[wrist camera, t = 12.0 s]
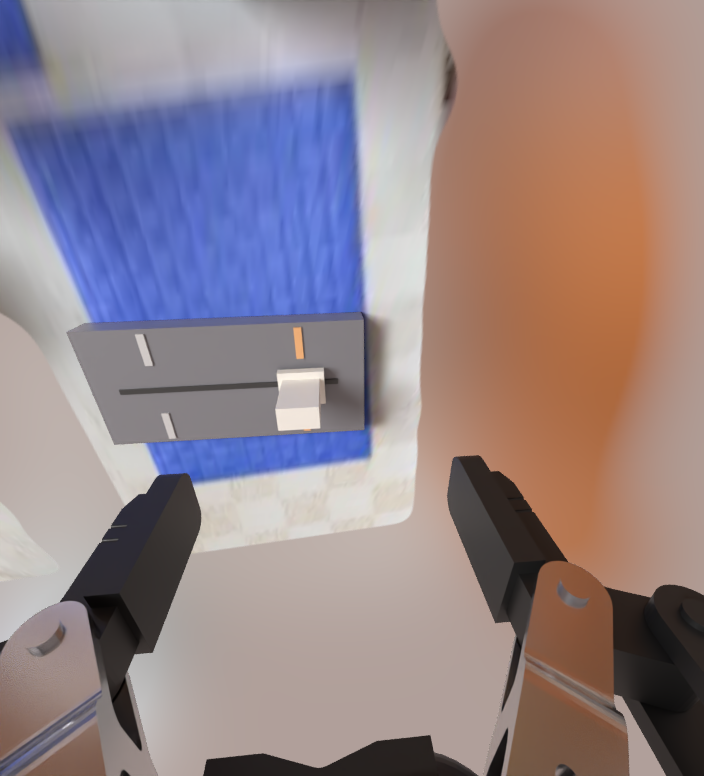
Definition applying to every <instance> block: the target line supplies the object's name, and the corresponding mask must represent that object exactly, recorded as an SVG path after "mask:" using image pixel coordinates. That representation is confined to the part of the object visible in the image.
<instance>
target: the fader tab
mask: <svg viewBox="0 0 704 776" xmlns="http://www.w3.org/2000/svg"><path fill="white" fill-rule="evenodd" d="M277 381H278V388H279V396H278V400H277V404H276V408H275V411H276V418H277V425H278V431H284V430H301V429H318V428H320V420H321V404H326V396H325V381H324V368H305V369H285V370H277Z"/></svg>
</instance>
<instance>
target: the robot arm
mask: <svg viewBox="0 0 704 776" xmlns="http://www.w3.org/2000/svg"><path fill="white" fill-rule="evenodd" d="M447 498H448V506H449V511H450V514H451V516H452V519H453V521H454V524H455V526H456V528H457V531H458V533H459V536H460V538H461V540H462V543H463V545H464V548H465V550H466V553H467V555H468V558H469V560H470V562H471V565H472V567H473V570H474V572H475V575H476V577H477V579H478V582H479V584H480V587H481V589H482V592H483V594H484V596H485V599H486V601H487V604H488V606H489V609H490V611H491V613H492V616H493V618H494V621H495V623H501V622H511V625H512V627H513V629H514V631H515V633H516V636H515V639H514V643H513V647H512V652H511V657H510V661H509V666H508V671H507V675H506V681H505V685H504V689H503V694H502V699H501V704H500V708H499V713H498V717H497V722H496V725H495V729H494V732H493V736H492V739H491V743H490V747H489V751H488V756H487V760H486V764H485V768H484V773H483V776H629V753H628V752H629V751H628V733H627V726H626V722H625V719H624V716H623V714H622V713H620V712H619V711H617V710H616V708H615V704H614V694H615V695H619V696H622V697H623V699H624V701H625V703H626V704H627V706H628V708H629V710H630V711H631V713H632V715H633V717H634V718H635V720H636V722H637V724H638V726H639V728H640V729H641V731H642V733H643V735H644V737H645V738H646V740H647V742H648V744H649V745H650V747H651V749H652V751H653V752H654V754H655V756H656V758H657V760H658V761H659V763H660V765H661V767H662V769H663V770H664V772H665V774H666V776H704V595H702V594H700V593H698V592H696V591H694V590H691V589H688V588H685V587H682V586H677V585H663V586H660V587H659V588H657V589H656V591H655V592H654V594H653V595H652V597H651V598H650V597H646V596H641V595H637V594H632V593H628V592H623V591H619V590H614V589H611V588H607V587H604V586H603V585H602V584H601V582H599V580H598V579H597V578H595V577H594V576H593V575H592V574H591V573H589V572H588V571H586V570H585V569H583V568H581V567H579V566H577V565H575V564H572V563H569V562H568V561H567V559H566V558H565V557H564V555H563V554H562V552H561V551H560V549H559V548H558V547H557V545H556V544H555V542H554V541H553V539H552V538H551V536H550V535H549V533H548V532H547V530H546V529H545V528H544V526H543V525H542V523H541V522H540V521H539V519H538V517H537V516H536V514H535V513H534V512H532V509H531V507H530V506H529V504H528V503H527V501H526V500H524V498H523V496H522V494H521V493H520V491H519V490H518V488H517V487H516V485H515V484H514V483H513V482H512V481H511V480H510V479H508V478H507V477H506V476H504V475H503V474H502V473H501V472H499V471H494V472H491V471H490V470H489V468H488V467H487V465H486V463H485V462H484V460H483V459H482V458H481V457H480V456H479V455H476V456H460V457H454V458H453V461H452V466H451V474H450V480H449V487H448V495H447ZM200 526H201V510H200V507H199V503H198V500H197V497H196V494H195V491H194V488H193V485H192V481H191V478H190V476H189V475H188V474H187V473H183V474H167V475H159V476H158V477H157V478H156V479H155V480H154V482H153V484H152V485H151V487H150V488H149V490H148V492H147V493H146V494H139V495H138V496H137V497H135V498H134V499H133V500H132V501H131V502H130V503H128V504H127V505H126V506H125V507H124V508H123V509H122V510H121V512H120V513H119V515H118V516H117V518H116V519H115V520H114V522H113V523H112V525H111V529H108V531H107V532H106V534H105V535H104V537H103V539H102V542H101V543H99V545H98V546H97V548H96V549H95V551H94V552H93V553H92V555H91V557H90V558H89V560H88V561H87V562H86V564H85V565H84V567H83V568H82V570H81V571H80V573H79V574H78V576H77V577H76V579H75V581H74V582H73V583H72V585H71V586H70V588H69V590H68V591H67V592H66V594H65V595H64V597H63V598H62V600H61V601H60V602H59V603H57V604H54V605H52V606H49V607H47V608H45V609H43V610H41V611H40V612H38V613H37V614H35V615H34V616H32V617H31V618H29V619H28V620H27V621H26V622H25V623H23V624H22V625H21V626H20V627H19V628H18V629H17V630H16V631H15V632H14V634H13V635H12V636H11V637H10V638H9V640H6V641H4V642H1V643H0V776H158V774H157V772H156V769H155V767H154V765H153V763H152V760H151V757H150V754H149V751H148V747H147V743H146V739H145V735H144V731H143V727H142V723H141V719H140V715H139V711H138V708H137V703H136V700H135V695H134V692H133V688H132V684H131V680H130V676H129V673H128V672H127V671H128V668H129V666H130V663H131V661H132V659H133V656H134V654H141V653H142V654H143V653H152V652H153V650H154V648H155V645H156V643H157V640H158V637H159V635H160V632H161V630H162V627H163V624H164V621H165V619H166V617H167V614H168V611H169V609H170V606H171V603H172V600H173V598H174V596H175V593H176V590H177V588H178V585H179V583H180V580H181V577H182V575H183V572H184V570H185V567H186V564H187V561H188V559H189V556H190V554H191V551H192V549H193V546H194V543H195V541H196V538H197V536H198V533H199V530H200ZM203 776H478V775H477V774H475V773H474V772H473V771H472V770H470V769H469V768H467V767H465V766H464V765H462V764H461V763H459V762H457V761H456V760H453V759H451V758H449V757H447V756H444V755H442V754H438V753H435V752H434V751H433V746H432V741H431V736H430V735H428V736H419V737H410V738H401V739H391V740H383V741H376V742H374V743H372V744H370V745H368V746H366V747H364V748H362V749H360V750H358V751H356V752H354V753H352V754H350V755H348V756H346V757H344V758H342V759H340V760H338V761H336V762H334V763H332V764H330V765H328V766H325V767H323V768H314V767H311V766H307V765H303V764H299V763H296V762H292V761H289V760H285V759H281V758H278V757H274V756H271V755H267V754H253V755H244V756H235V757H226V758H216V759H208V760H207V761H206V765H205V770H204V775H203Z"/></svg>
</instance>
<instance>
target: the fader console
mask: <svg viewBox="0 0 704 776" xmlns="http://www.w3.org/2000/svg"><path fill="white" fill-rule="evenodd" d="M66 333H67V335H68V337H69V340H70V342H71V344H72V347H73V349H74V351H75V354H76V356H77V358H78V361H79V363H80V365H81V368H82V370H83V372H84V375H85V377H86V379H87V382H88V384H89V386H90V389H91V391H92V393H93V396H94V398H95V400H96V403H97V405H98V407H99V410H100V412H101V414H102V417H103V419H104V421H105V424H106V426H107V428H108V431H109V433H110V435H111V438H112V440H113V442H114V445H116V444H133V443H150V442H167V441H184V440H201V439H218V438H235V437H252V436H268V435H285V434H302V433H319V432H336V431H353V430H364V319H363V316H362V313H361V312H349V313H325V314H300V315H276V316H251V317H226V318H202V319H177V320H152V321H128V322H103V323H84V324H82V325H80V326H78V327H76V328H74V329H72V330H70V331H68V332H66ZM305 368H324V381H325V396H326V404H321V420H320V428H318V429H301V430H284V431H278V425H277V418H276V411H275V408H276V404H277V400H278V396H279V388H278V381H277V370H285V369H305Z"/></svg>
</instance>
